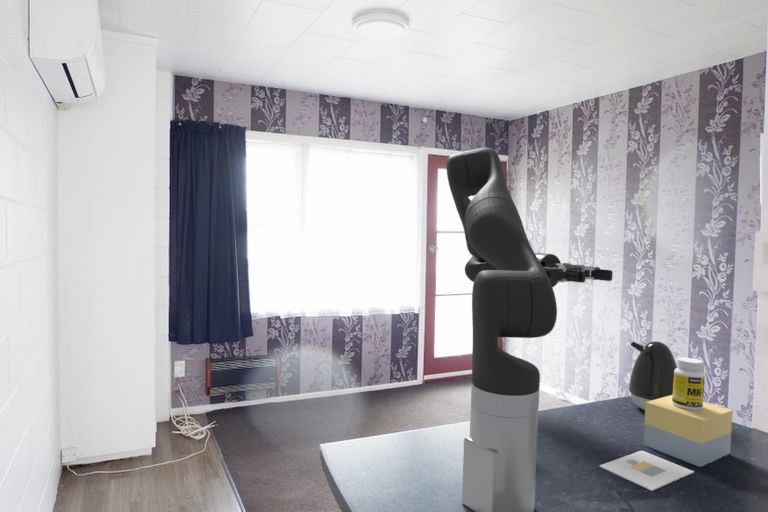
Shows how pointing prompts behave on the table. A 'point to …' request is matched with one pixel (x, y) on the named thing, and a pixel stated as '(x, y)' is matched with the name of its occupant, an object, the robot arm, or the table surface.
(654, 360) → the pump dispenser
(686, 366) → the supplement bottle
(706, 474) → the table surface
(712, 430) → the yellow and grey block
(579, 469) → the table surface
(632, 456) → the page
